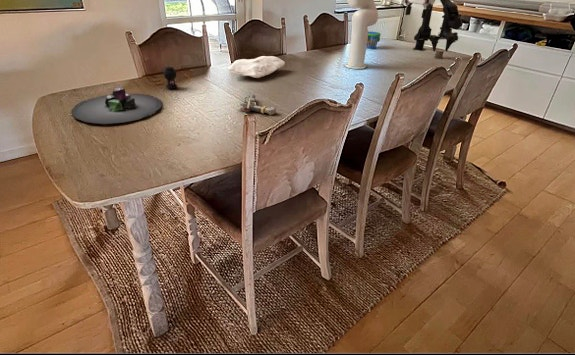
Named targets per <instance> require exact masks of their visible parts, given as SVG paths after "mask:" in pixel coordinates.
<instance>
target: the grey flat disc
mask: <svg viewBox="0 0 575 355" xmlns="http://www.w3.org/2000/svg"><path fill="white" fill-rule="evenodd" d="M158 98H159V97H158ZM158 98H157V97H154V96H153V95H149V94H142V93H127V92H126V89H125V88H122V87H120V86H116V87H115V88H114V89H113V90H112V94H106V95H101V96H98V97H92V98H89V99H86V100H83V101H80V102H79V103H77V104H76V105H74V106H73V108H72V109H71V110H70V111H71V117H72V118H74V119H77V120H79V121H82V122H85V123H91V124H97V125H99V124H100V125H113V124H120V123H121V124H122V123H123V124H124V123H129V122H133V121H138V120H141V119H145V118H148V117H150V116H153V115H154V114H157V112H159V111H161V109H162V107H163V104H162V100H160V99H158Z"/></svg>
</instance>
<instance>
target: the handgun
mask: <svg viewBox="0 0 575 355" xmlns="http://www.w3.org/2000/svg"><path fill="white" fill-rule="evenodd" d="M239 106H240V108H239V109H240V111H243V112H244V113H250V112H256V113H261V114H264V113H266V114H268V115H270V116H272V115H275V113H276V111H277V108H276V107H275V106H271V107H268V106H267V105H257V102H256V94H253V93H246V94H245V95H244V103H240V105H239Z"/></svg>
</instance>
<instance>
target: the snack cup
mask: <svg viewBox="0 0 575 355" xmlns="http://www.w3.org/2000/svg"><path fill="white" fill-rule="evenodd" d="M380 40H381V32H378V31H368V39H367V47H366V49H376V48H377V45H378V43H379V42H380Z"/></svg>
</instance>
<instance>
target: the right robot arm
mask: <svg viewBox="0 0 575 355" xmlns="http://www.w3.org/2000/svg"><path fill="white" fill-rule="evenodd" d="M439 1H440V3H441V5H442V13H443V14H444V15H442V16H441V18H443V19H442V23H441V26H440V27H439V30H440V32H439V33H438V34H437V35H436V34H432V30H433V29H432V28H431V26H430V23H431V19H432V14H433V7H434V4H433V5H432V6H431V7H430V9H428V13H427V16H426V18H422V22H421V25H420V27H419V28H418V30H417V33H416V34H415V35H414V37H413V40H414V41H415V46H414V47H413V49H412V50H417V51H424V50H425V48H424V47H425V42H428V41H430V43H431V46H432V51H433V52H434V53H436V50H437V45H438V43H439V40H446V42H445V48H444V49H445V52H448V50H449V49H450V47H451V46H452V44H454V43H456V42H457V41H459V36H458V32H456V31H457V30H459V29H460V28H461V27H462V25H463V23H462V20H461V17H460V14H459V8H458V5H457V4H456V3H455V2H453V1H451V0H439ZM429 4H430V3H429ZM453 30H456V31H455V32H453Z"/></svg>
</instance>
